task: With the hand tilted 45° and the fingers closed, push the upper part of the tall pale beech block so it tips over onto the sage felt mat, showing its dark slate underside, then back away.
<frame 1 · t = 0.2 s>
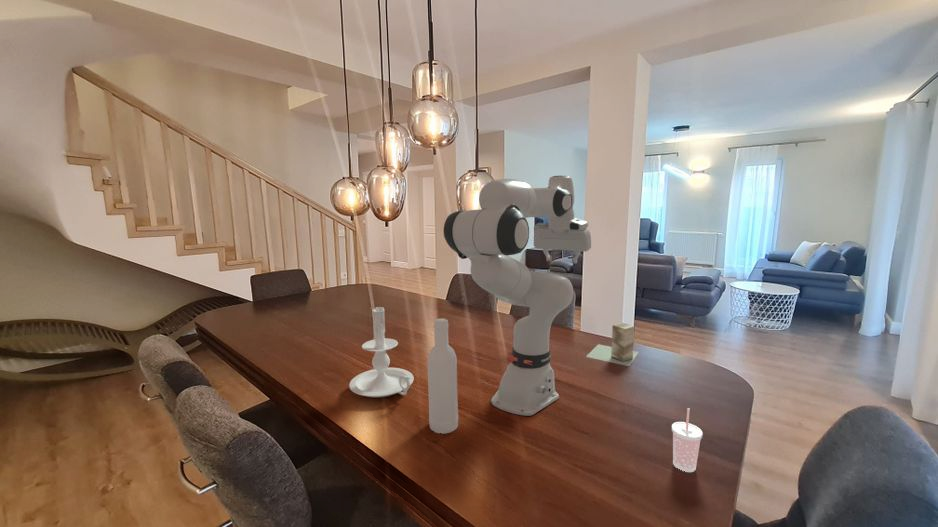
hand: (561, 261, 137), 39 cm above the table, tool pointing down, fingers open, 8 cm apart
bottle: (443, 426, 106), on the table
mat: (612, 355, 152), on the table
beverage cup: (684, 466, 88), on the table
block: (621, 358, 148), resting on mat
candlestick: (386, 392, 126), on the table
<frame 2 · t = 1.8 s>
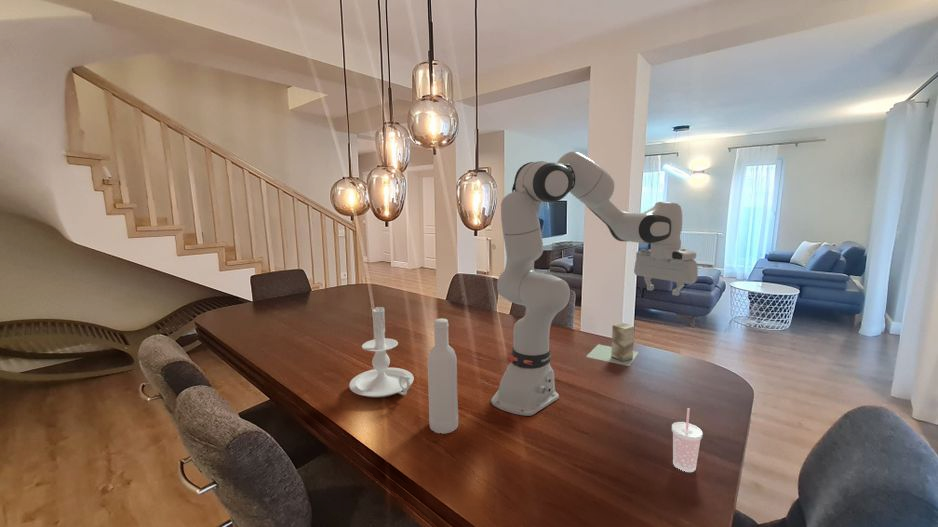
hand: (662, 292, 130), 30 cm above the table, tool pointing down, fingers open, 8 cm apart
nothing on the table moved.
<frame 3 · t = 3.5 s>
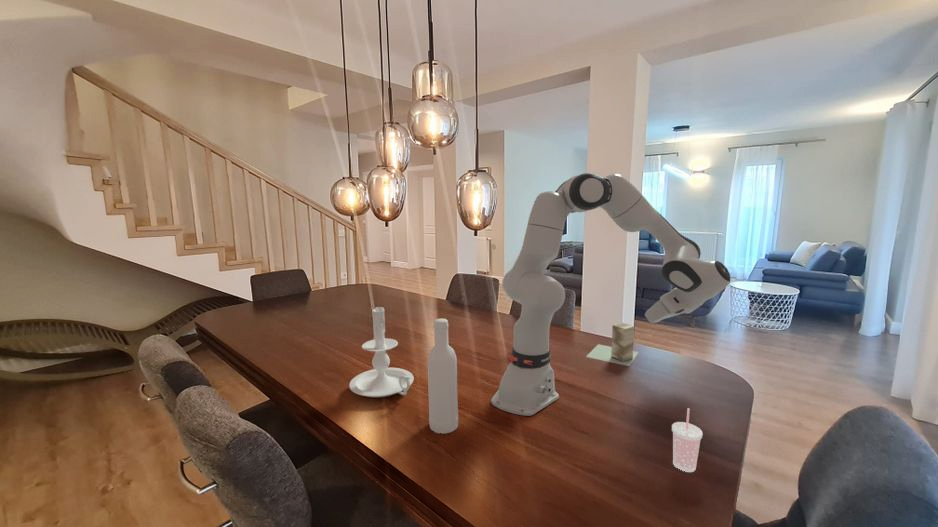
hand: (654, 321, 135), 18 cm above the table, tool tilted 45°, fingers closed
nothing on the table moved.
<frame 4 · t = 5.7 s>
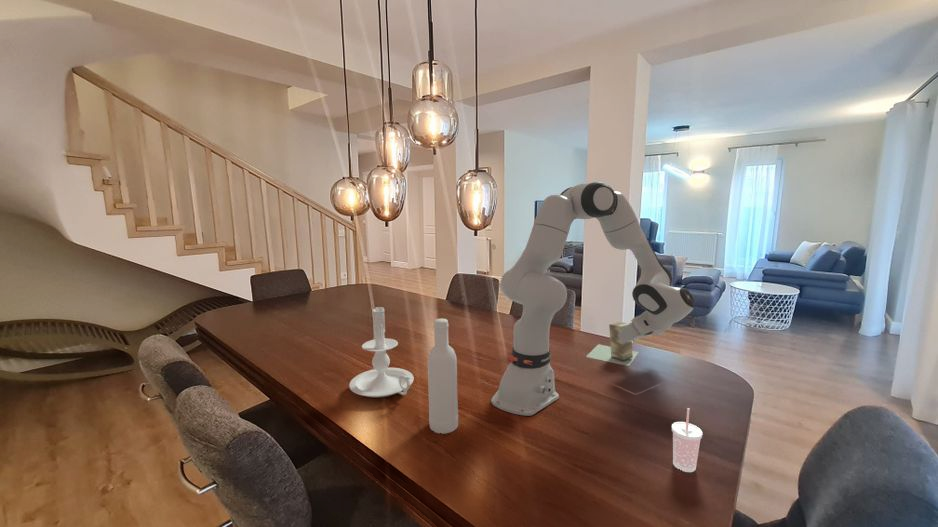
hand: (628, 340, 145), 8 cm above the table, tool tilted 45°, fingers closed, pressing on block
block: (621, 357, 148), point 1 cm above the table, tilted 7°, touching gripper, mat
everything else where it was.
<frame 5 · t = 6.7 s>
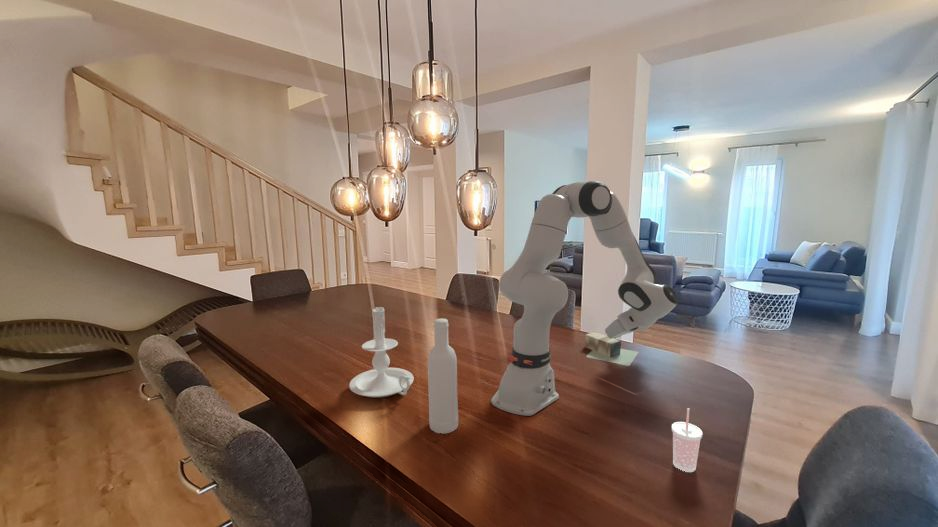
hand: (615, 336, 150), 8 cm above the table, tool tilted 45°, fingers closed
block: (616, 349, 150), point 3 cm above the table, tilted 90°, touching mat
everything else where it was.
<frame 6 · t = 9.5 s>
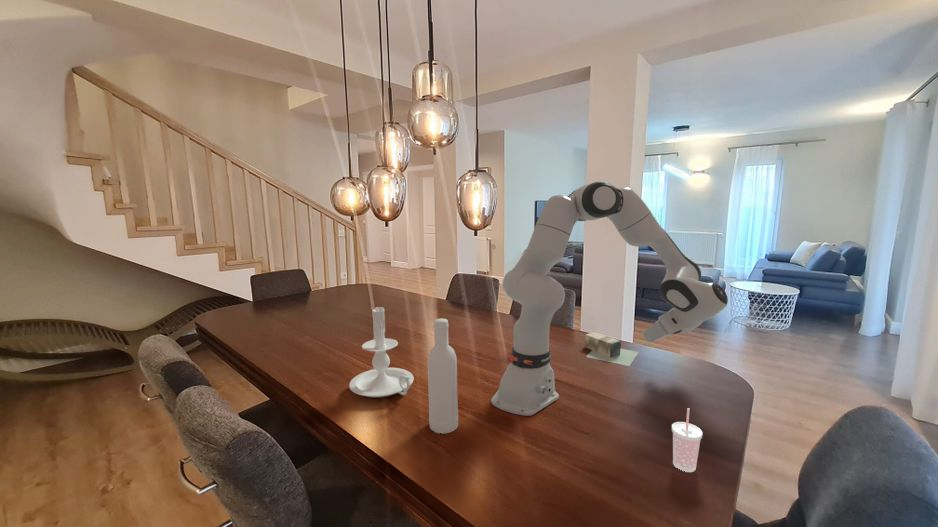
hand: (652, 339, 137), 11 cm above the table, tool tilted 45°, fingers closed
nothing on the table moved.
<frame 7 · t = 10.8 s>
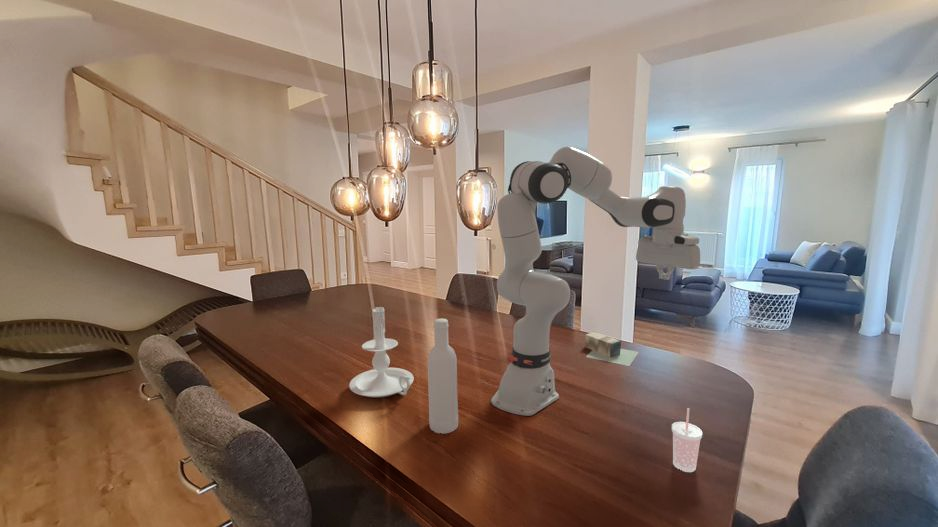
hand: (664, 279, 127), 34 cm above the table, tool pointing down, fingers closed
nothing on the table moved.
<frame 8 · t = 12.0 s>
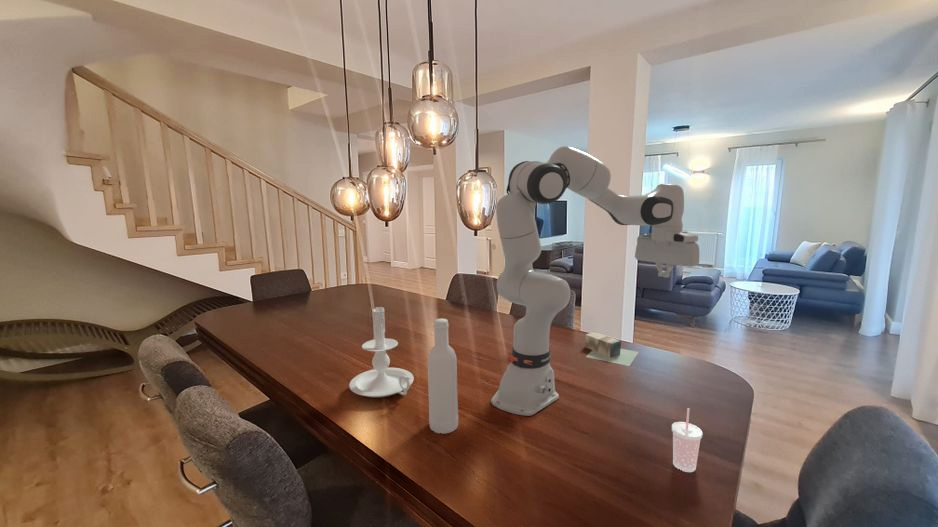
hand: (663, 276, 128), 35 cm above the table, tool pointing down, fingers closed
nothing on the table moved.
at the end: block tilted 90°; block inside the target area (3.9 cm from its centre), point 3.1 cm above the table; the gripper is holding nothing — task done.
